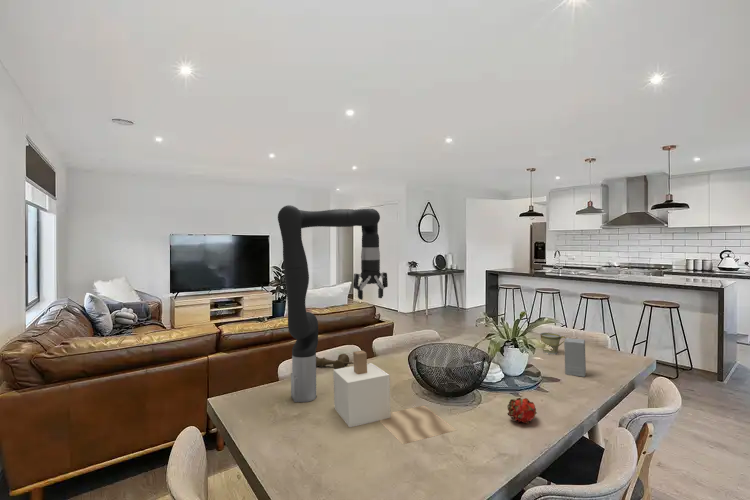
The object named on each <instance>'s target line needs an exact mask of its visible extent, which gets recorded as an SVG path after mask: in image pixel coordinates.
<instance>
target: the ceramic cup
mask: <svg viewBox="0 0 750 500" xmlns="http://www.w3.org/2000/svg"><path fill="white" fill-rule="evenodd" d="M563 338H564V340H563V341H561V339H563ZM566 338H567V337H565V336H563V335H561V334H559V333H555V332H542V333H540V341H541V342H542V341H543V342H544V343H545V344H547V345H549V346H551V347H552V348H553V350H552V351H549V350H543V349H542V350H543V354H545V353H548V354H547V355H549V354H555V355H558V352H559V347H560V346H561V345H562V344H564V341H565V339H566Z"/></svg>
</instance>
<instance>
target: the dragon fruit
mask: <svg viewBox="0 0 750 500" xmlns="http://www.w3.org/2000/svg"><path fill="white" fill-rule="evenodd" d="M507 411H508V412H507V416H509V417H511V420H512V421H515V422H516V423H520V422H522V423H524V424H526V425H529V424H530V423H529V422H532V420H533V419H534V418H535V417H536V414H538V413H537V409H536V405H535V402H533V401H530V399H529V398H528V397H525V398H521V397H516V399H514V398H513V399H510V401H509V402H508V404H507Z"/></svg>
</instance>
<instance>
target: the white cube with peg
mask: <svg viewBox="0 0 750 500" xmlns="http://www.w3.org/2000/svg"><path fill="white" fill-rule="evenodd" d="M352 355H353V356H352V357H353V358H352V359H353V363H354V364H353V365H352V366H351V365H350V366H344V368H340V369H334V368H333V370H332V371H333V373H332V374H333V396H334V397H333V400H334V403H333V405H334V409H335V411H336V413H337V414H338V415H339V416H340V418H341V419H342V420H343V421H344V422H345V424H346V425H347V427H349V428H353V427H356V426H357V427H358V426H360V425H361V426H363V425H365V424H371V423H375V422H380V421H379V420H383V419H387V418H391V413H392V412H391V389H390V387H391V385H390V374H389V373H387V372H386V371H384V370H383V369H382V368H380V367H378V366H377V365H376V364H374V363H372V362H370V363H368V358H367V355H368V354H367V352H366V351H364V350H357V351H353V352H352Z"/></svg>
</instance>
